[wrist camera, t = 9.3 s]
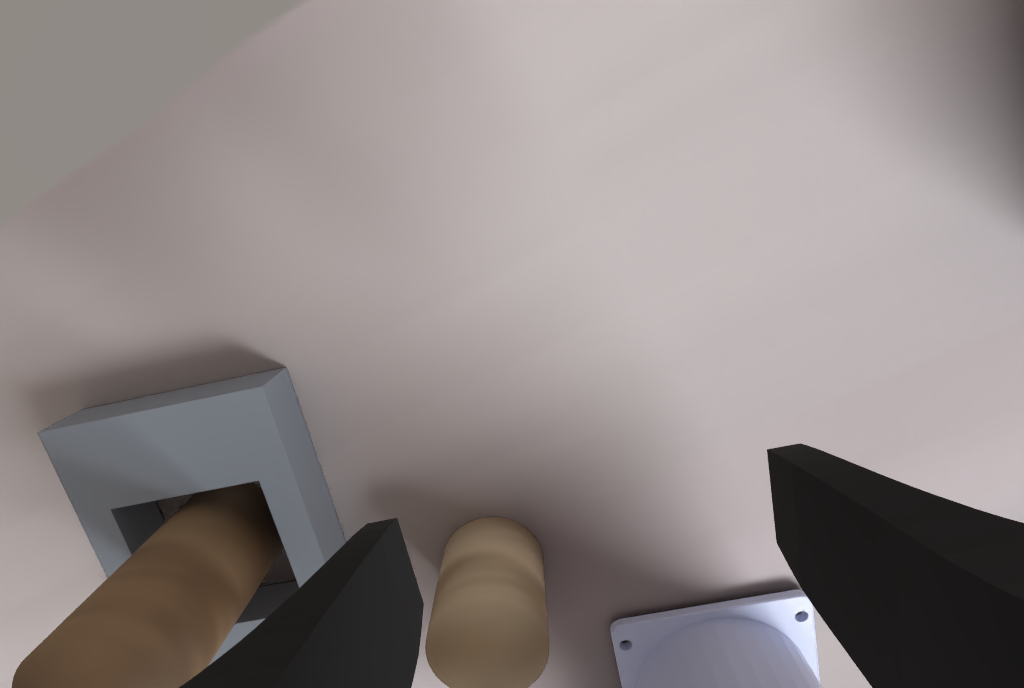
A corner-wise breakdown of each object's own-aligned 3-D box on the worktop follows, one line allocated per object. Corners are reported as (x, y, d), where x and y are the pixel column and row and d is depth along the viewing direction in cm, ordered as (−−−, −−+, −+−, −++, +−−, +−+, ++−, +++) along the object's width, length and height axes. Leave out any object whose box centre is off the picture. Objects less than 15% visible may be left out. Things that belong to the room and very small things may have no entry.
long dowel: (300, 560, 23) (189, 752, 15) (206, 574, 23) (49, 772, 15) (270, 471, 22) (134, 631, 14) (171, 488, 22) (-15, 653, 14)
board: (377, 634, 24) (365, 674, 22) (197, 665, 24) (169, 706, 22) (286, 367, 21) (262, 386, 19) (81, 409, 21) (37, 432, 19)
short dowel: (552, 593, 23) (559, 688, 19) (456, 610, 23) (442, 707, 19) (531, 508, 22) (535, 587, 18) (432, 526, 22) (411, 610, 18)
